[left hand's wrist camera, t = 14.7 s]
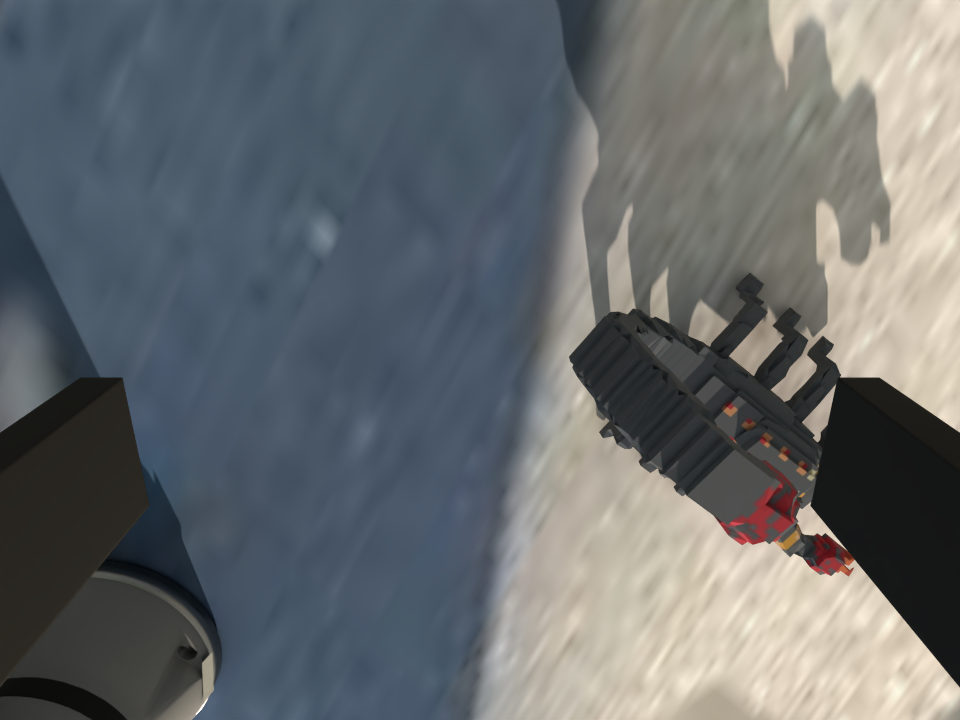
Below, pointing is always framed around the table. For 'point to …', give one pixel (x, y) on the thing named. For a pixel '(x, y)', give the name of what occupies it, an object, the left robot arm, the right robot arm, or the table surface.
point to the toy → (718, 420)
